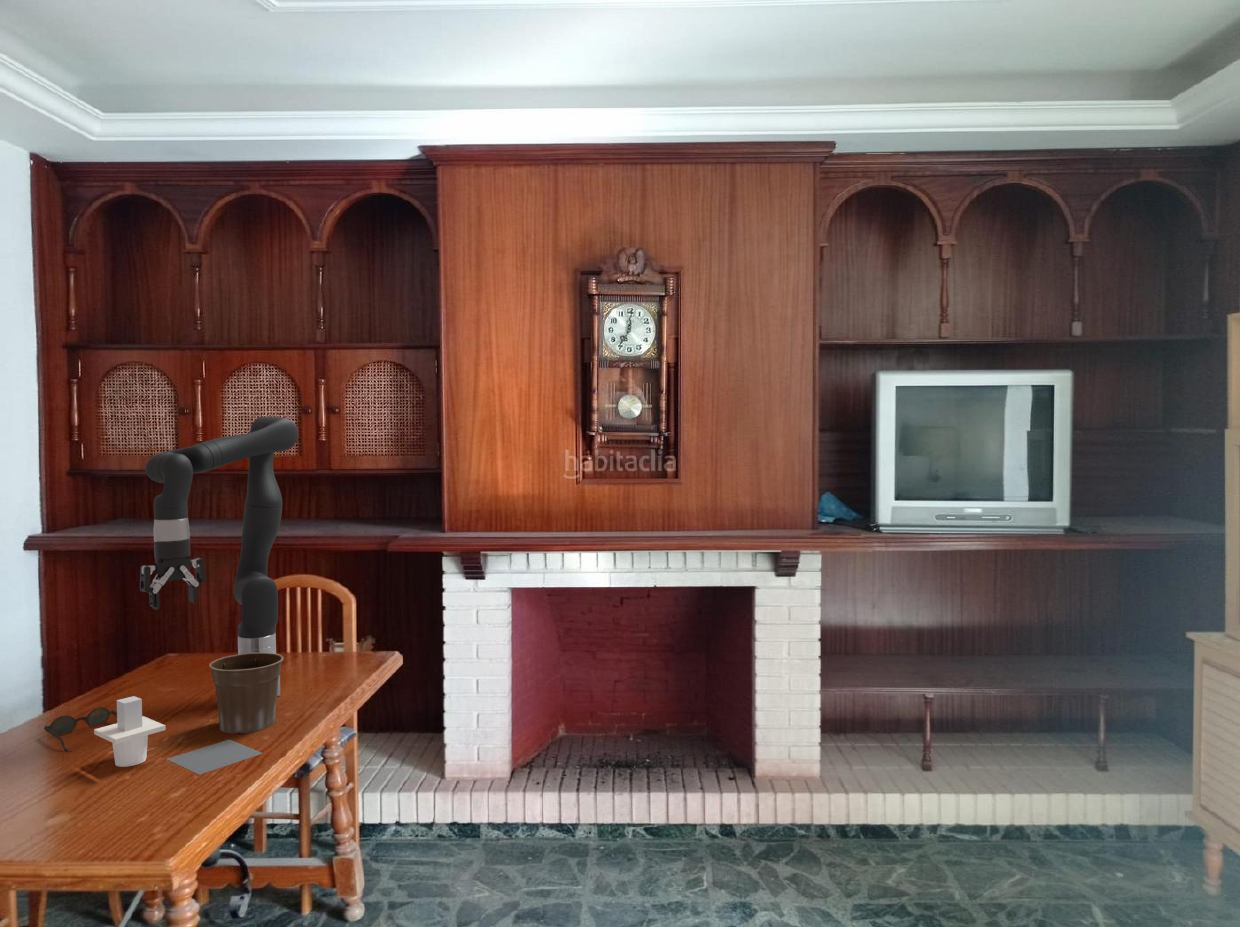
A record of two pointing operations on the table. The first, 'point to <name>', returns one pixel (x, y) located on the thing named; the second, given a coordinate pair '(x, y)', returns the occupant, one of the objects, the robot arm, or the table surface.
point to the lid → (129, 723)
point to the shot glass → (130, 752)
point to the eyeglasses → (69, 723)
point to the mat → (214, 756)
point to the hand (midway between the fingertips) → (174, 605)
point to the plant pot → (246, 691)
